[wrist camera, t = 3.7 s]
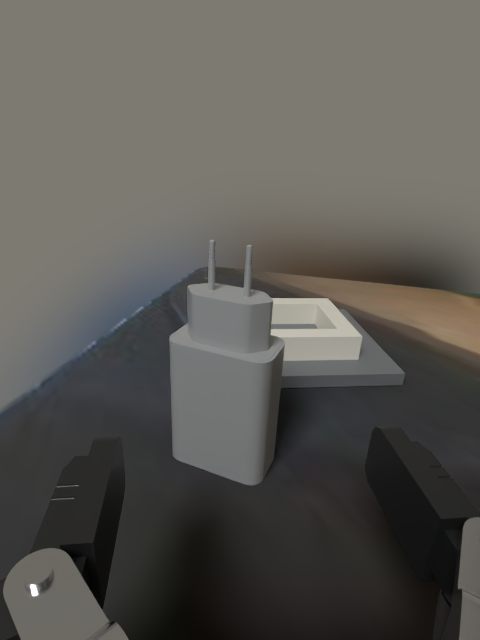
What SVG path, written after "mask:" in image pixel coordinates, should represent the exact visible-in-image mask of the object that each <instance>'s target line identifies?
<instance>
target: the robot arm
mask: <svg viewBox="0 0 480 640" xmlns="http://www.w3.org/2000/svg"><path fill="white" fill-rule="evenodd" d="M365 471H366V477H367V480H368V483H369V485H370V487H371V489H372V491H373V493H374V495H375V496H376V498H377V500H378V502H379V504H380V506H381V508H382V510H383V511H384V513H385V515H386V517H387V519H388V521H389V523H390V525H391V527H392V528H393V530H394V532H395V534H396V536H397V538H398V540H399V542H400V544H401V545H402V547H403V549H404V551H405V553H406V555H407V557H408V559H409V561H410V562H411V564H412V566H413V568H414V570H415V572H416V574H417V576H418V578H419V579H420V581H430V580H436V581H437V582H438V584H439V586H440V588H441V589H440V591H439V595H438V601H437V608H436V616H435V623H434V631H433V638H432V640H480V513H479V512H478V511H477V510H476V508H475V507H474V506H473V505H472V503H471V502H470V501H469V499H468V498H467V497H466V496H465V494H464V493H463V492H462V491H461V489H460V488H459V487H458V486H457V484H456V483H455V482H454V480H453V479H452V478H451V479H450V475H449V474H448V473H447V472H446V470H445V469H444V468H442V467H441V464H440V463H439V461H438V460H437V459H436V458H435V456H434V455H433V454H432V453H431V452H430V451H429V450H427V449H426V448H425V447H423V446H422V445H421V444H419V443H418V442H417V441H416V442H411V440H410V439H409V438H408V436H407V435H406V434H405V432H404V431H403V430H402V429H401V428H400V427H399V426H387V427H375V428H374V429H373V431H372V435H371V440H370V445H369V449H368V454H367V459H366V464H365ZM124 492H125V471H124V460H123V449H122V440H121V437H101V438H95V439H94V441H93V444H92V447H91V450H90V453H89V456H75V457H74V458H73V459H72V461H71V462H70V463H69V464H68V465H67V466H66V467H65V468H64V469H63V471H62V473H61V476H60V478H59V481H58V483H57V488H55V491H54V494H53V496H52V501H50V504H49V506H48V509H47V511H46V514H45V516H44V519H43V522H42V524H41V527H40V529H39V532H38V534H37V537H36V539H35V542H34V545H33V547H32V549H31V552H30V554H29V555H28V556H26V557H25V558H23V559H22V560H21V561H19V562H18V563H17V564H16V565H15V566H14V567H13V569H12V570H11V571H10V573H9V574H8V576H7V577H6V578H4V579H3V580H1V581H0V640H129V639H128V638H127V636H126V634H125V633H124V631H123V630H122V628H121V627H120V626H119V625H118V623H116V622H115V621H113V622H112V623H111V622H110V621H109V620H108V619H107V617H106V616H105V614H104V613H103V611H102V609H103V605H104V600H105V595H106V589H107V584H108V579H109V573H110V568H111V563H112V557H113V552H114V547H115V541H116V536H117V531H118V526H119V520H120V515H121V510H122V504H123V499H124Z"/></svg>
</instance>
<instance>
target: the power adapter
mask: <svg viewBox="0 0 480 640" xmlns="http://www.w3.org/2000/svg"><path fill="white" fill-rule="evenodd" d="M252 248H253V246H252V245H247V250H246V266H245V278H244V288H240V287H234V286H229V285H223V284H217V283H215V240H210V241H209V267H208V283H204V284H194V285H189V286H188V323H187V324H186V325H185V326H183V327H182V328H180V329H179V330H177V331H176V332H175V333H173V334H172V335H171V336H170V373H171V408H172V444H173V456H174V458H176V459H177V460H179V461H181V462H184V463H187V464H190V465H192V466H195V467H198V468H201V469H203V470H206V471H209V472H212V473H214V474H217V475H220V476H223V477H226V478H228V479H231V480H234V481H237V482H239V483H242V484H246V485H256V484H259V483H260V482H262V481H263V479H264V477H265V475H266V473H267V471H268V469H269V467H270V465H271V464H272V462H273V459H274V452H275V441H276V431H277V421H278V411H279V400H280V390H281V380H282V370H283V359H284V349H285V342H284V340H283V339H281V338H279V337H277V336H273V335H271V323H272V311H273V299H272V298H270V297H269V296H268V295H267V294H266V293H264V292H261V291H257V290H251V277H252V266H251V265H252Z"/></svg>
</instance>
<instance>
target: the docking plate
mask: <svg viewBox="0 0 480 640" xmlns="http://www.w3.org/2000/svg"><path fill="white" fill-rule="evenodd" d="M272 299H273V311H272V323H271V335H273V336H277V337H279V338H281V339H283V340H284V342H285V349H284V359H283V370H282V380H281V388H307V387H348V386H388V385H403V381H404V377H405V373H404V372H403V371H402V370H401V369H400V368H399V367H398V365H397V364H396V363H395V362H394V361H393V360H392V359H391V358H390V357H389V356H388V355H387V354H386V353H385V352H384V351H383V350H382V349H381V347H380V346H379V345H378V344H377V343H376V342H375V341H374V340H373V339H372V338H371V337H370V336H369V335H368V334H367V333H366V332H365V331H364V329H363V328H362V327H361V326H360V325H359V324H358V323H357V322H356V321H355V320H354V319H353V318H352V317H351V316H350V315H349V314H348V313H347V311H346V310H345V309H337V308H336V307H335V306H334V305H333V303H332V302H331V301H330V300H329V299H328V298H272Z"/></svg>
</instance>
